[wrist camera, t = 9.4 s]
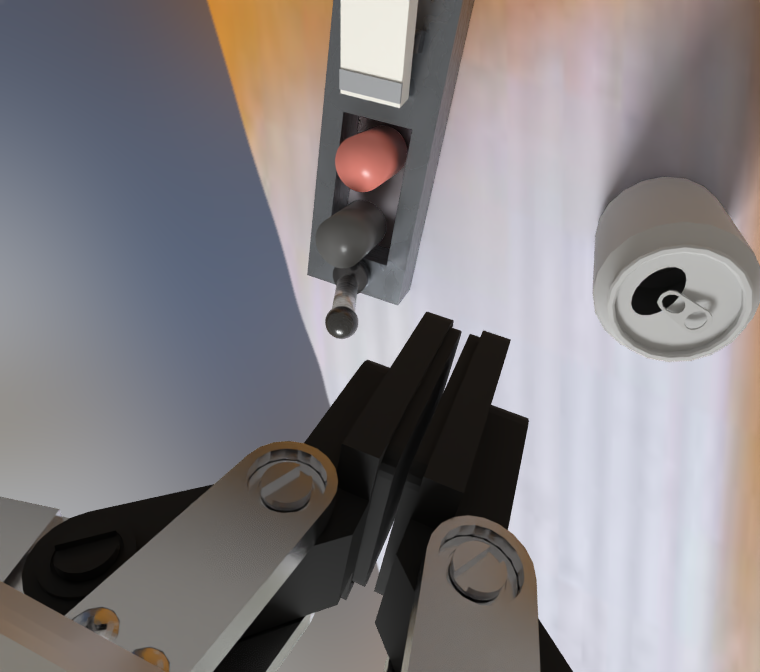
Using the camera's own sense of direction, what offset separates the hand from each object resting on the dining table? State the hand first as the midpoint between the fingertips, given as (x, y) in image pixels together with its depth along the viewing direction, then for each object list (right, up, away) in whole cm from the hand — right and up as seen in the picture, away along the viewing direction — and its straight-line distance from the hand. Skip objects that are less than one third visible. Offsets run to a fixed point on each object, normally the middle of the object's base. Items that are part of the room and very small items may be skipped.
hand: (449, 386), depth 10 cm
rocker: (-2, +18, +19) cm, 27 cm away
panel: (-1, +15, +28) cm, 31 cm away
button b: (-3, +9, +29) cm, 30 cm away
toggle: (-4, +5, +29) cm, 30 cm away
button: (-1, +14, +27) cm, 31 cm away
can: (+17, +8, +24) cm, 31 cm away
